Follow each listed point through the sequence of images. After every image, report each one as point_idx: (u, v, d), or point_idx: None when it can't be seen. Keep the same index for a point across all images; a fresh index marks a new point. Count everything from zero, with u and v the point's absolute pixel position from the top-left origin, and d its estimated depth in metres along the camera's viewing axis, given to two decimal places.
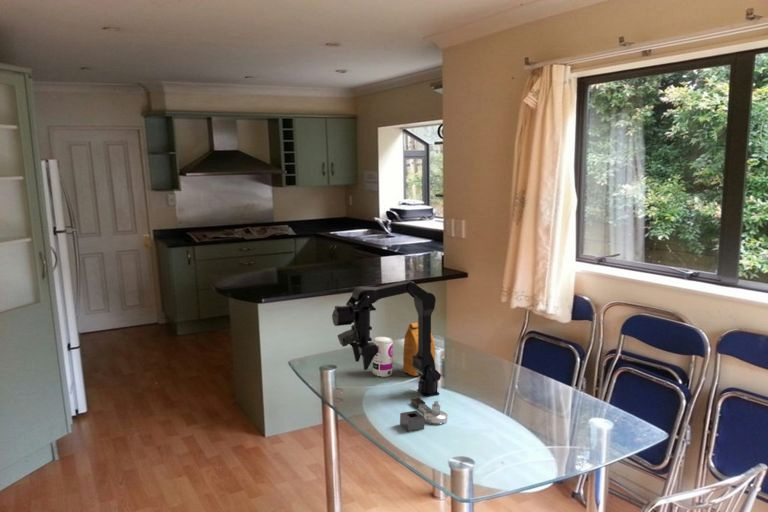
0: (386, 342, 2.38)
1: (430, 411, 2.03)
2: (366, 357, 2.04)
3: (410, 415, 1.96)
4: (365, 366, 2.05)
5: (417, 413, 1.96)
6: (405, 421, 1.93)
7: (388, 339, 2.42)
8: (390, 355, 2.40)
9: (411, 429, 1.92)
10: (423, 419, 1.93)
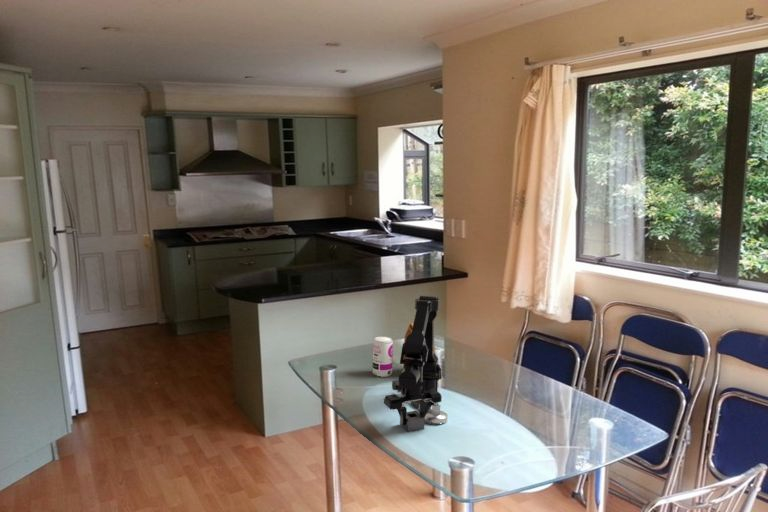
0: (386, 342, 2.38)
1: (430, 411, 2.03)
2: (400, 411, 1.93)
3: (410, 415, 1.96)
4: (401, 420, 1.93)
5: (417, 413, 1.96)
6: None
7: (388, 339, 2.42)
8: (390, 355, 2.40)
9: (411, 429, 1.92)
10: (423, 419, 1.93)
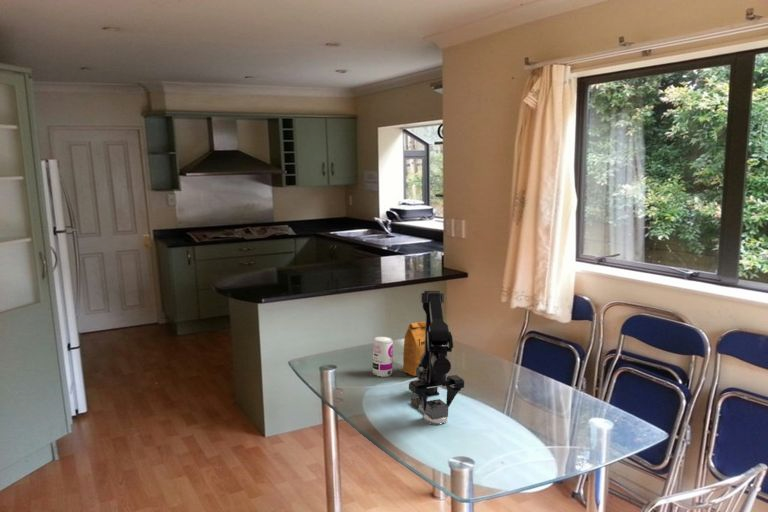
0: (386, 342, 2.38)
1: None
2: (421, 397, 1.98)
3: None
4: (422, 406, 1.98)
5: (441, 401, 2.02)
6: (429, 409, 1.99)
7: (388, 339, 2.42)
8: (390, 355, 2.40)
9: (435, 417, 1.97)
10: (447, 407, 1.99)
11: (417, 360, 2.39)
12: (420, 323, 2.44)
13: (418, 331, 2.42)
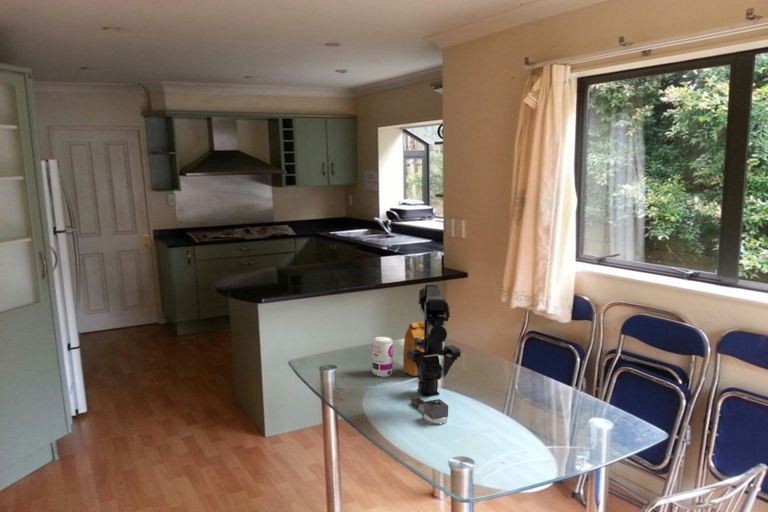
0: (386, 342, 2.38)
1: None
2: (419, 366, 2.05)
3: None
4: (420, 374, 2.05)
5: (441, 401, 2.02)
6: (429, 409, 1.99)
7: (388, 339, 2.42)
8: (390, 355, 2.40)
9: (435, 417, 1.97)
10: (447, 407, 1.99)
11: None
12: (420, 323, 2.44)
13: (418, 331, 2.42)
